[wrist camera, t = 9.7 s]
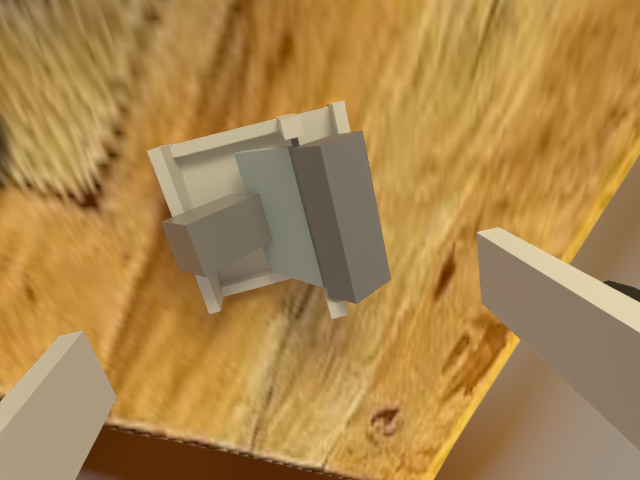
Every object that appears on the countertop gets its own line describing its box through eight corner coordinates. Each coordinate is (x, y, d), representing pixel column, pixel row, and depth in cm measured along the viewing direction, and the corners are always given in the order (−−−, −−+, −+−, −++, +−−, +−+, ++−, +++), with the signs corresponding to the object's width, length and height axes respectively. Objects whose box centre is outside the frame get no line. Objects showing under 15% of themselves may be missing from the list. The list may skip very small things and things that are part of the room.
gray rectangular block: (244, 237, 43) (179, 270, 38) (230, 193, 41) (160, 222, 36) (272, 240, 39) (205, 277, 34) (258, 193, 38) (185, 225, 33)
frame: (151, 148, 40) (103, 164, 28) (338, 101, 41) (367, 98, 29) (207, 295, 46) (186, 359, 34) (369, 251, 47) (403, 299, 35)
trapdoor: (266, 143, 40) (228, 155, 38) (362, 130, 30) (320, 145, 28) (297, 256, 45) (265, 273, 42) (390, 279, 34) (356, 304, 32)
